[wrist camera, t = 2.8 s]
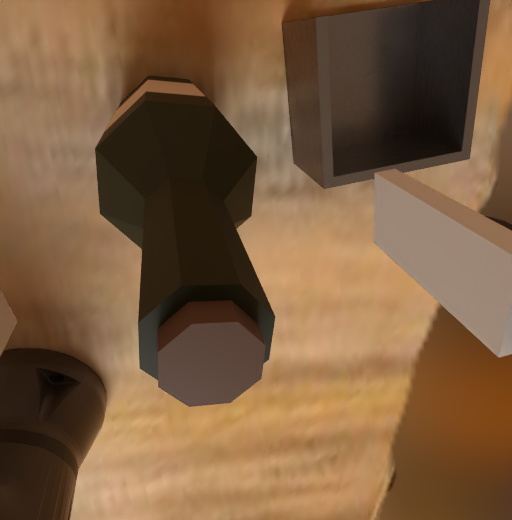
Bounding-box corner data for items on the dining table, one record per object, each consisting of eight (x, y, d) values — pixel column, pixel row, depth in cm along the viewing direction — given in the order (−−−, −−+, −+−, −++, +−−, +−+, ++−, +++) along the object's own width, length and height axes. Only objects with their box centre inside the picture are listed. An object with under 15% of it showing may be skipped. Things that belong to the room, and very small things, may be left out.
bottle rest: (293, 163, 39) (324, 188, 32) (281, 23, 33) (315, 17, 26) (415, 139, 40) (469, 159, 33) (424, 1, 35) (491, -9, 28)
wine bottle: (99, 92, 33) (-114, 282, 7) (197, 58, 33) (359, 112, 7) (142, 187, 37) (116, 530, 11) (229, 156, 37) (405, 415, 11)
